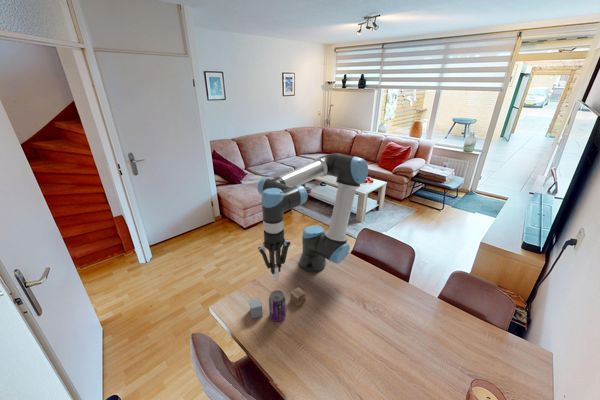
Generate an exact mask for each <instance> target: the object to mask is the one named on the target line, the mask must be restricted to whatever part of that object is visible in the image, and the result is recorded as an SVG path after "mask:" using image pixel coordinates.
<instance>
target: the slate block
mask: <svg viewBox="0 0 600 400" xmlns="http://www.w3.org/2000/svg"><path fill="white" fill-rule="evenodd" d="M248 304H249V310H250V317H251V319H255V318H260V317H264V316H263V315H264V314H263V305H262V304H263V303H262V301H261V297H257V298H253V299H249V300H248Z"/></svg>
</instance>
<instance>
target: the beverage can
mask: <svg viewBox="0 0 600 400" xmlns="http://www.w3.org/2000/svg"><path fill="white" fill-rule="evenodd" d="M286 306H287V305H286V296H285V294H284V292H283V291H282V290H279V289H277V290H273V291H271V292H270V294H269V297H268V308H269V309H268V310H269V318H270V320H272V321H274V322H280V321H281V322H282V321H283V320H284V319H285V318H286V315H287V311H286Z"/></svg>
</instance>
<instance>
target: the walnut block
mask: <svg viewBox="0 0 600 400" xmlns="http://www.w3.org/2000/svg"><path fill="white" fill-rule="evenodd" d="M289 294H290V298H289V299H290V301H291V302H292V303H293V304H294V305H295V306H297V307H298V306H300V305H301V304H303V303H304V302H305V301H306V292H305V291H303V290H302V289H301V288H300V287H297V288H294V289H293V290H292V291H290V293H289Z"/></svg>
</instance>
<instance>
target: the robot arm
mask: <svg viewBox="0 0 600 400" xmlns="http://www.w3.org/2000/svg"><path fill="white" fill-rule="evenodd" d="M367 163H368V162H367V160H365V159H364V158H361V157H358V156H354V155H348V154H343V153H338V152H337V153H335V152H334V153H329V154H325V155H322V156H319V157H316V158H315V159H313V161H312V162H310V163H308V164H305V165H302V166H301V167H298V168H295V169H293V170H291V171H289V172H286V173H284V174H281V175H279V176H276V177H274V178H270V177H268V178H267V177H263V178H261V179H260V180H259V181H258V183H257V185H256V187H257V192H258V193H259V195H261V210H262V212H261V213H262V223H263V224H262V225H263V226H262V227H263V240H264V241H263V245H262V246H258V247H257V249H258V251H259V253H260V254H261V256H262V259H263V261H264V264H265V266H266V268H267V269H268V270H269V269H270V273H271V274H272V278H273V279H274V281H275V282H278V281H279V280H280V278H279V277H280V276H279V275H280V272H281V269H282V265H284V264H285V263H286V260H287V259H286V258H287V255H288V251H289V247H290V246H291V241H290V240H289V239H287V238H286V239H285V233H284V232H285V231H284V230H285V228H284V227H285V226H284V225H285V223H284V212H287V211H289V210H292V209H294V208H297V207H299V206H301V205H302V204H305V203H306V202H307V200H308V191H307V189H306V188H305V187H304V186H303V185H304V184H306V183H309V182H311V181H313V180H315V179H317V178H319V177H320V178H324V177H325V176H326V177H327V176H331V177H335V178H336V180H335V183H336V184H337V191H336V195H335V200H334V205H333V210H332V214H331V219H330V223H329V229H328V230H327V231H325V228H324V227H323V226H320V225H309V226H307V227H305V228H304V229H303V230H302V237H301V238H302V252H301V255H300V257H299V261H298V262H299V267H300V268H301V269H302V270H303V271H305V272H306V271H307V272H309V273H315V272H316V273H317V272H321V271H322V270H324V269H325V268H326V265H327V264H326V261H329V262H331V263H334V264H337V265H338V264H341V263H342V262H343V261H344V260H346V258H347V257H348V255H349V252H350V249H351V248H350V247H351V245H350V244H348V242H347V241H348V237H347V235H346V233H347V229H348V225H349V221H350V216H351V213H352V209H353V208H352V207H353V204H354V199H355V195H356V194H355V193H356V190H357V189H358V188H360V187H361V184H364V183H366V180H367V178H368V175H369V165H368V164H367ZM266 249H267V250H268V252H269V253H268V254H269V256H267V253H266ZM268 257H269V259H268Z"/></svg>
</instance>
